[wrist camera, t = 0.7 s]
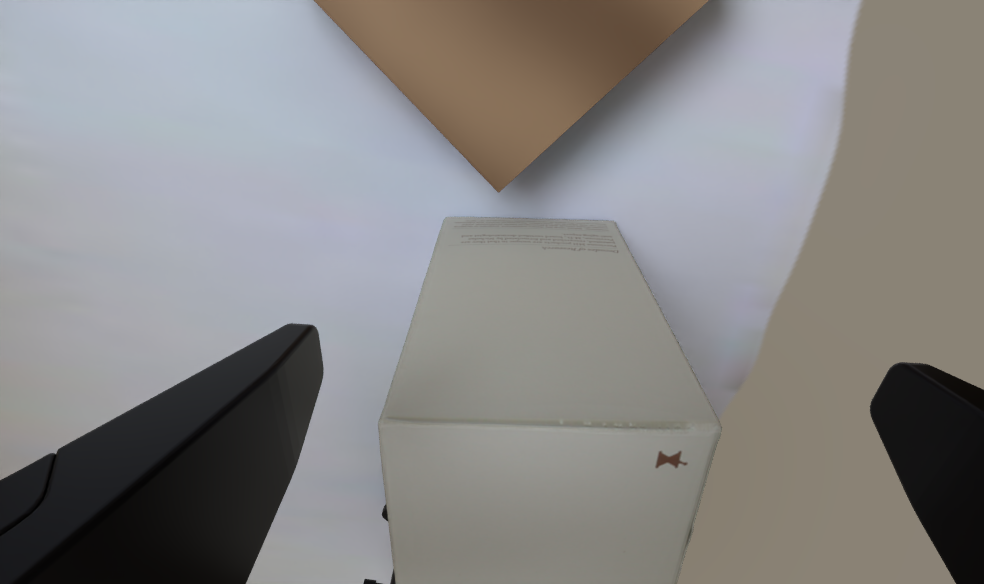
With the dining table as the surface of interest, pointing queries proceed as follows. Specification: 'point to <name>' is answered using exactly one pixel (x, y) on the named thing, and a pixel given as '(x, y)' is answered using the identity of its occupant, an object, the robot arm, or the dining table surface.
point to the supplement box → (541, 415)
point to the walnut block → (507, 64)
